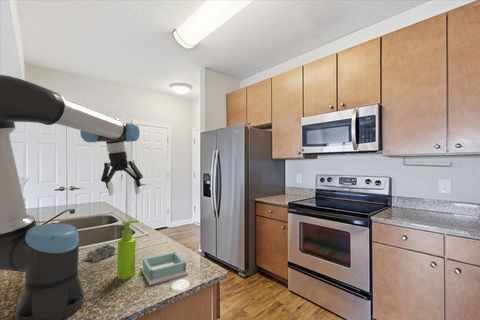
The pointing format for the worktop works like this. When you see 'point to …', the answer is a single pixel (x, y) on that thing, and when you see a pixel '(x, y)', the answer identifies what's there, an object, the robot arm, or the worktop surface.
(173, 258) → the cradle
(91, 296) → the worktop surface
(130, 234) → the soap dispenser
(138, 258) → the worktop surface
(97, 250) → the egg carton
